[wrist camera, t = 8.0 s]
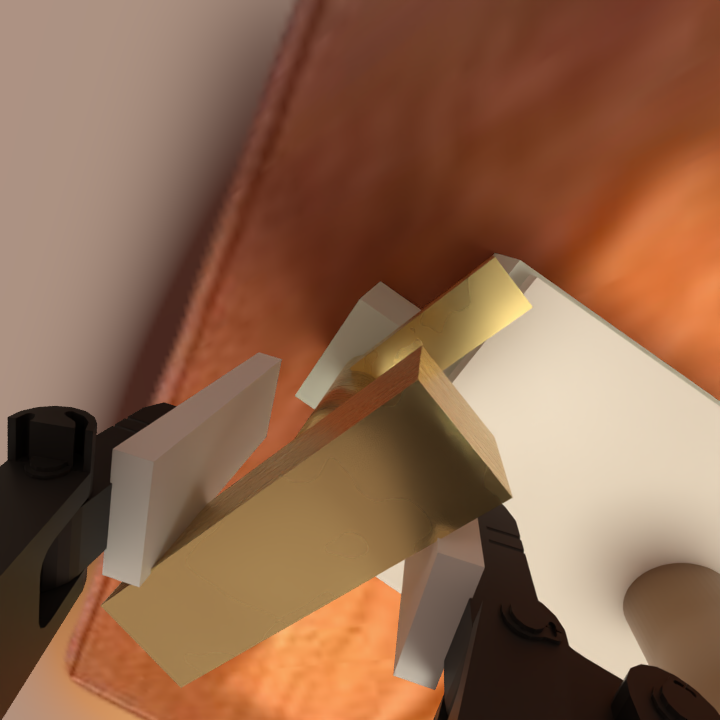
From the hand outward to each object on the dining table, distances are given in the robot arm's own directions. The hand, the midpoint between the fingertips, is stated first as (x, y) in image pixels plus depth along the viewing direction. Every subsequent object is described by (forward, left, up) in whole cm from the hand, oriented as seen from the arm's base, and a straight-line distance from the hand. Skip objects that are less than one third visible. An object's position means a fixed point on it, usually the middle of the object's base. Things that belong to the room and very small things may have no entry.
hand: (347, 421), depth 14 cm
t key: (-1, 0, -4) cm, 5 cm away
